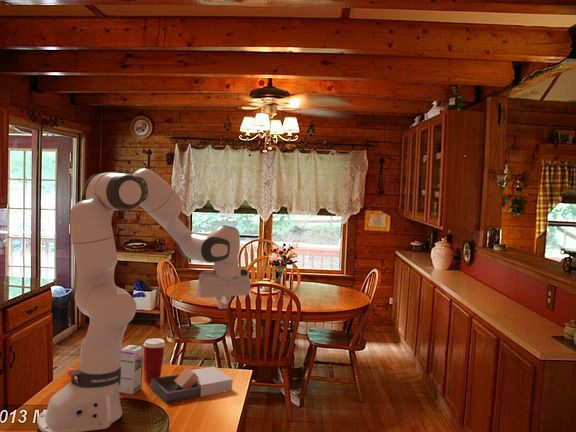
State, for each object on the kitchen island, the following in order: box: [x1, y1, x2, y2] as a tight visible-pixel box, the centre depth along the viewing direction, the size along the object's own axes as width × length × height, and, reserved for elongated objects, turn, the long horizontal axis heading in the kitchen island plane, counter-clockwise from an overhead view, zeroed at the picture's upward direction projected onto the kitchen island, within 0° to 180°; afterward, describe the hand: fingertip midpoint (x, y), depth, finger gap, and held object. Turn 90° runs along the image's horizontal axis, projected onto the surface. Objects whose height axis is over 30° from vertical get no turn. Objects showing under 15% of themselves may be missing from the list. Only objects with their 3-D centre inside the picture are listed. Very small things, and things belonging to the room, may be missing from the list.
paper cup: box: [142, 337, 166, 383], centre depth 168 cm, size 8×8×14 cm
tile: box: [174, 367, 199, 390], centre depth 160 cm, size 6×6×3 cm
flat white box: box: [190, 366, 234, 398], centre depth 166 cm, size 12×14×4 cm
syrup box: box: [119, 344, 144, 395], centre depth 157 cm, size 6×6×14 cm
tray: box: [150, 373, 201, 404], centre depth 158 cm, size 12×14×3 cm
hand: (222, 308), depth 170 cm, fingers closed
